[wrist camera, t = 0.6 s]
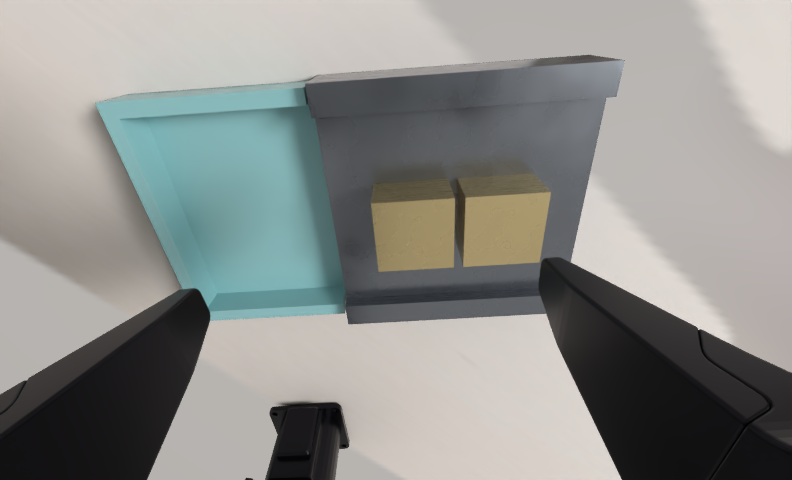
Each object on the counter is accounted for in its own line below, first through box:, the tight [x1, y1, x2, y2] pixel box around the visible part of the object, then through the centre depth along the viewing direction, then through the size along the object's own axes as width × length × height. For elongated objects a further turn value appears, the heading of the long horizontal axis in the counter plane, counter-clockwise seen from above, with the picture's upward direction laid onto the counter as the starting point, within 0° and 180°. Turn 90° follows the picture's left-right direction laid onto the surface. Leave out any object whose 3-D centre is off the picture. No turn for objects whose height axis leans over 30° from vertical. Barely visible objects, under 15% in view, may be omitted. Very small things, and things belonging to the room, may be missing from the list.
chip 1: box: [371, 179, 455, 272], centre depth 19 cm, size 4×4×2 cm
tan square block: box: [456, 174, 551, 267], centre depth 19 cm, size 4×4×2 cm
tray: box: [95, 81, 347, 321], centre depth 22 cm, size 14×10×2 cm
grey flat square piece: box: [305, 55, 625, 324], centre depth 21 cm, size 14×14×3 cm
